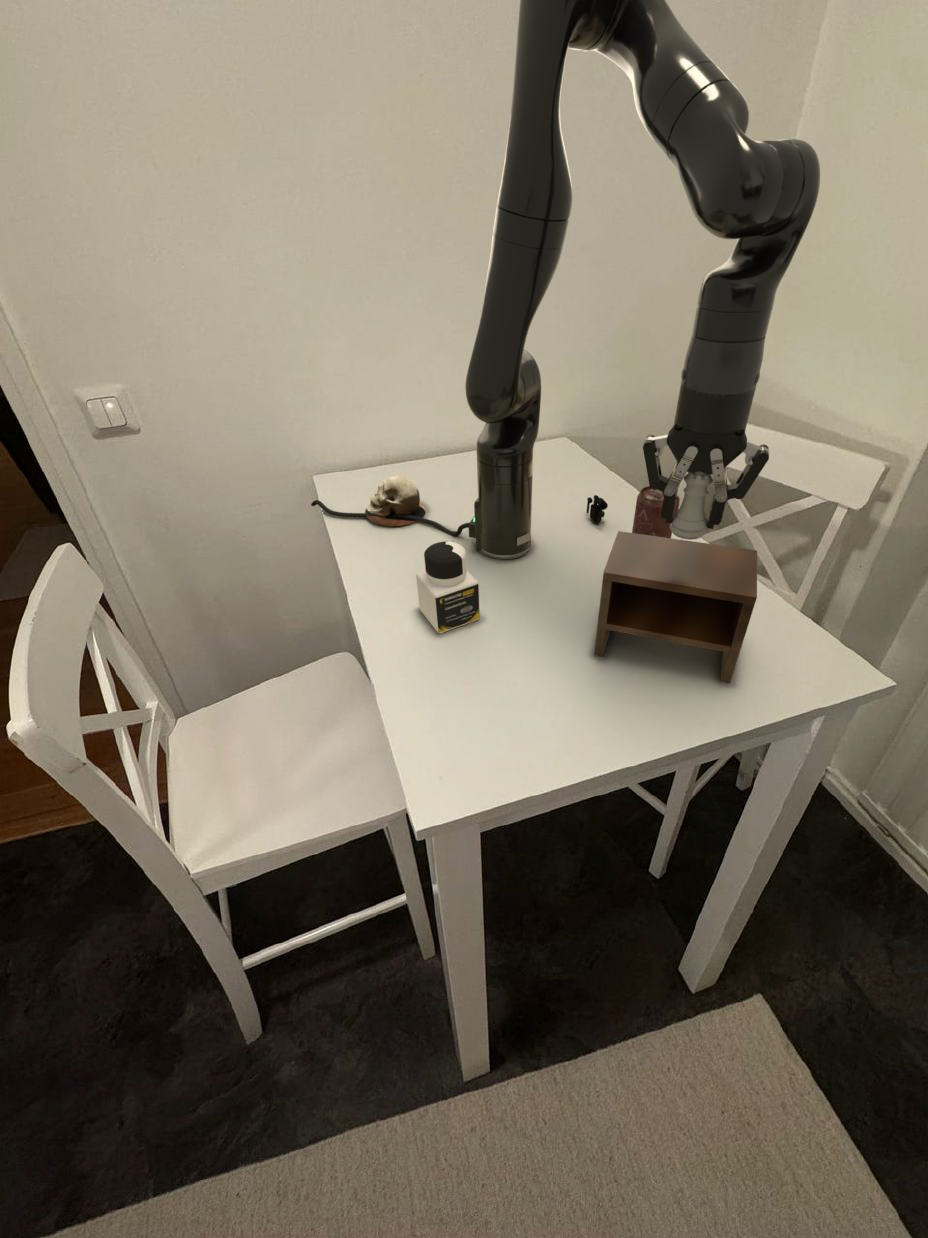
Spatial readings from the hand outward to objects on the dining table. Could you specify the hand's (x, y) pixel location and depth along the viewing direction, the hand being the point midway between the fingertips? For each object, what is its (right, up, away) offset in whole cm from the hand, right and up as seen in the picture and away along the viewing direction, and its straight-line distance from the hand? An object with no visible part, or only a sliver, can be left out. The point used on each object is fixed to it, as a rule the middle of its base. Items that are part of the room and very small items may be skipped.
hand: (689, 522), depth 74 cm
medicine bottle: (-30, -11, +20) cm, 38 cm away
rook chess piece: (0, -1, +1) cm, 1 cm away
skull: (-42, +9, +47) cm, 63 cm away
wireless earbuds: (-2, +7, +41) cm, 42 cm away
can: (+3, -4, +27) cm, 28 cm away
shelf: (+1, -15, +12) cm, 20 cm away
